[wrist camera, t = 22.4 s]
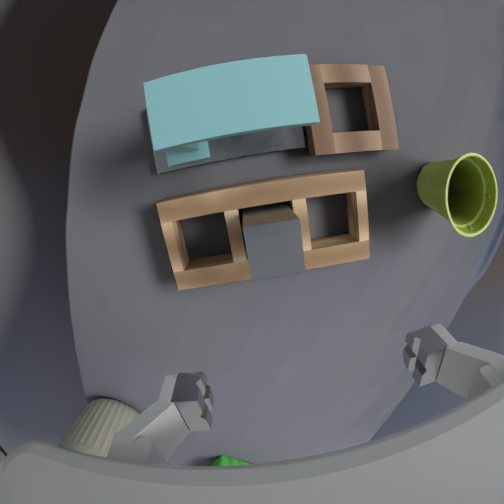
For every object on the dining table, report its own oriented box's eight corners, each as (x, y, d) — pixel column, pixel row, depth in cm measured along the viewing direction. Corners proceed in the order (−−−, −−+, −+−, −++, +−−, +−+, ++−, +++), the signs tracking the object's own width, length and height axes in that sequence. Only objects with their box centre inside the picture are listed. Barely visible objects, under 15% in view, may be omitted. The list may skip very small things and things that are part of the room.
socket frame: (373, 71, 27) (383, 65, 24) (386, 149, 30) (398, 149, 27) (147, 100, 28) (138, 95, 25) (161, 181, 31) (153, 184, 28)
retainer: (281, 83, 26) (303, 41, 15) (292, 144, 29) (322, 136, 17) (160, 106, 27) (113, 80, 15) (171, 166, 29) (127, 173, 18)
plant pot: (411, 226, 33) (449, 247, 25) (398, 156, 30) (440, 160, 22) (459, 209, 33) (499, 224, 24) (449, 145, 30) (492, 148, 21)
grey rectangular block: (243, 206, 32) (242, 227, 23) (283, 200, 32) (299, 218, 23) (249, 244, 34) (251, 280, 24) (288, 238, 33) (305, 271, 24)
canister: (181, 437, 46) (167, 527, 26) (117, 442, 48) (93, 514, 28) (127, 377, 40) (85, 480, 20) (64, 389, 42) (21, 465, 22)
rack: (165, 198, 31) (156, 203, 28) (352, 168, 31) (364, 169, 28) (184, 277, 35) (178, 290, 31) (358, 248, 34) (369, 258, 31)
